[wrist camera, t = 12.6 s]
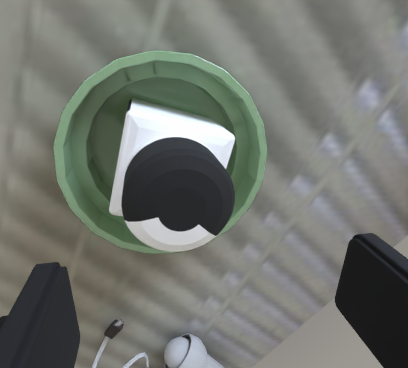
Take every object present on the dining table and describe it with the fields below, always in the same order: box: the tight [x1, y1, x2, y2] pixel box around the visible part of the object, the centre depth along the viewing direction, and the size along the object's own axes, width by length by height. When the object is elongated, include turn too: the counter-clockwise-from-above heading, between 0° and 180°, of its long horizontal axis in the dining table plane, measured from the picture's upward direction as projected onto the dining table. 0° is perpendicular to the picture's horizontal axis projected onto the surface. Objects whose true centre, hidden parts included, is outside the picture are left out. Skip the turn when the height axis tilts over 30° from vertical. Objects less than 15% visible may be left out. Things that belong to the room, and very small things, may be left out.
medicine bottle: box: [109, 98, 235, 252], centre depth 20 cm, size 7×7×12 cm
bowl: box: [53, 50, 267, 254], centre depth 24 cm, size 15×15×6 cm
